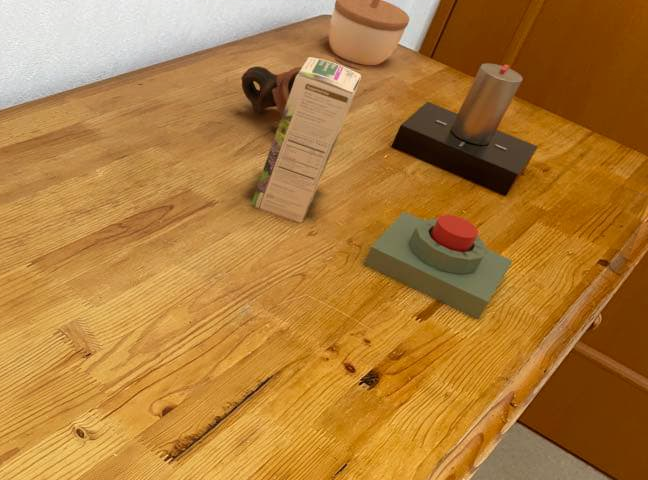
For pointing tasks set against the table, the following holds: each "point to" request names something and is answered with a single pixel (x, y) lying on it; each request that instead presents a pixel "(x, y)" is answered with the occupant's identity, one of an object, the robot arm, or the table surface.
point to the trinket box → (366, 30)
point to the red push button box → (438, 265)
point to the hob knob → (486, 103)
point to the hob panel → (463, 149)
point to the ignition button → (454, 233)
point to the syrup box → (305, 138)
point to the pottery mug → (268, 88)
